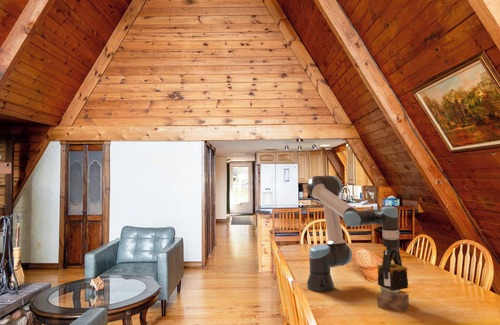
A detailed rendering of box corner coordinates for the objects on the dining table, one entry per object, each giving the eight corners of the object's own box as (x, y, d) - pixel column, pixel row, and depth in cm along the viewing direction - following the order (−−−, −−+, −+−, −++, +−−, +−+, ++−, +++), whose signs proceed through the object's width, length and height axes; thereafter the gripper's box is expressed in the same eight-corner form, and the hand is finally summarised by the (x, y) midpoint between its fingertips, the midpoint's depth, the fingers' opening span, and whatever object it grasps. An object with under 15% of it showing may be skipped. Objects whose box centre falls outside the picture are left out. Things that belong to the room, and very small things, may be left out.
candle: (392, 291, 156) (391, 269, 157) (377, 285, 166) (376, 264, 166) (408, 288, 160) (408, 267, 160) (393, 282, 169) (392, 262, 170)
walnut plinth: (377, 307, 161) (377, 297, 161) (383, 300, 171) (383, 290, 171) (404, 313, 154) (404, 302, 154) (408, 304, 164) (408, 294, 164)
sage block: (380, 291, 182) (380, 284, 183) (384, 288, 189) (384, 280, 189) (396, 294, 177) (395, 287, 178) (399, 290, 184) (399, 283, 184)
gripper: (388, 243, 152) (390, 290, 151) (407, 235, 170) (409, 277, 169) (372, 241, 157) (374, 286, 156) (392, 234, 175) (394, 275, 174)
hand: (392, 282), depth 163 cm, fingers closed on candle, 13 cm apart
